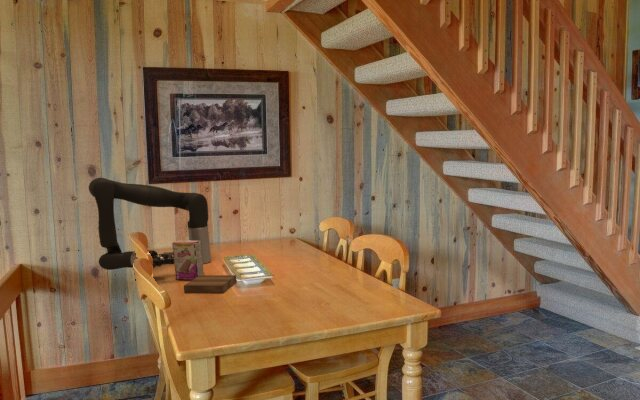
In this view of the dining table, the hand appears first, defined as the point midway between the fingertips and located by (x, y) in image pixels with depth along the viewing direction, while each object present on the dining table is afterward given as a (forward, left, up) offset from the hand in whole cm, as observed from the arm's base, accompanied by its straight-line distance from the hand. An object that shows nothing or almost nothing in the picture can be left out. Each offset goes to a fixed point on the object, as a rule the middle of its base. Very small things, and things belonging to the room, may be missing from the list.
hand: (178, 258), depth 226 cm
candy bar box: (0, +4, -9) cm, 10 cm away
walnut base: (+12, +19, -9) cm, 24 cm away
